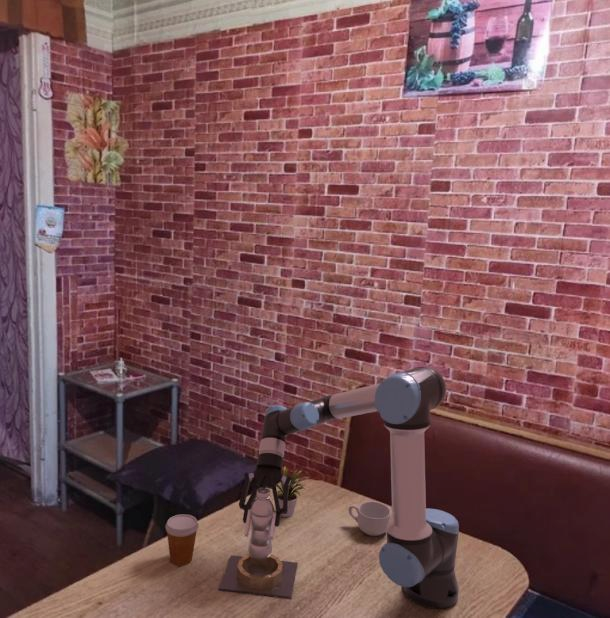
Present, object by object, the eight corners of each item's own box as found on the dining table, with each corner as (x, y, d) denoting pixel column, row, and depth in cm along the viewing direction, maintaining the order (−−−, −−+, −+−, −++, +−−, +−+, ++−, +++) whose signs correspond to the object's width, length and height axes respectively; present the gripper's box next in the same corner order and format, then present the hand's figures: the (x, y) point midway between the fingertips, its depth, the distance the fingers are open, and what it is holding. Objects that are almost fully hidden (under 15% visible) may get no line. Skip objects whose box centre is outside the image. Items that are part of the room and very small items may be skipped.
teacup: (394, 530, 198) (396, 507, 197) (380, 544, 189) (382, 520, 188) (357, 516, 205) (358, 495, 204) (341, 529, 196) (343, 507, 195)
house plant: (294, 530, 194) (297, 483, 192) (258, 518, 200) (260, 473, 197) (313, 511, 207) (315, 467, 204) (277, 501, 213) (280, 458, 210)
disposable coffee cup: (185, 547, 181) (186, 510, 179) (204, 561, 174) (205, 523, 172) (158, 558, 174) (159, 520, 172) (176, 573, 168) (177, 534, 166)
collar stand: (297, 564, 175) (298, 553, 175) (291, 598, 160) (292, 586, 159) (231, 557, 177) (231, 546, 176) (218, 590, 161) (218, 578, 161)
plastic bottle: (268, 565, 164) (272, 498, 161) (244, 561, 165) (248, 494, 162) (274, 552, 170) (278, 487, 167) (251, 548, 171) (255, 483, 168)
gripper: (303, 464, 178) (294, 544, 165) (240, 458, 180) (225, 536, 167) (303, 454, 172) (293, 536, 159) (237, 448, 174) (222, 528, 160)
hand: (258, 536), depth 163 cm, fingers closed on plastic bottle, 6 cm apart
